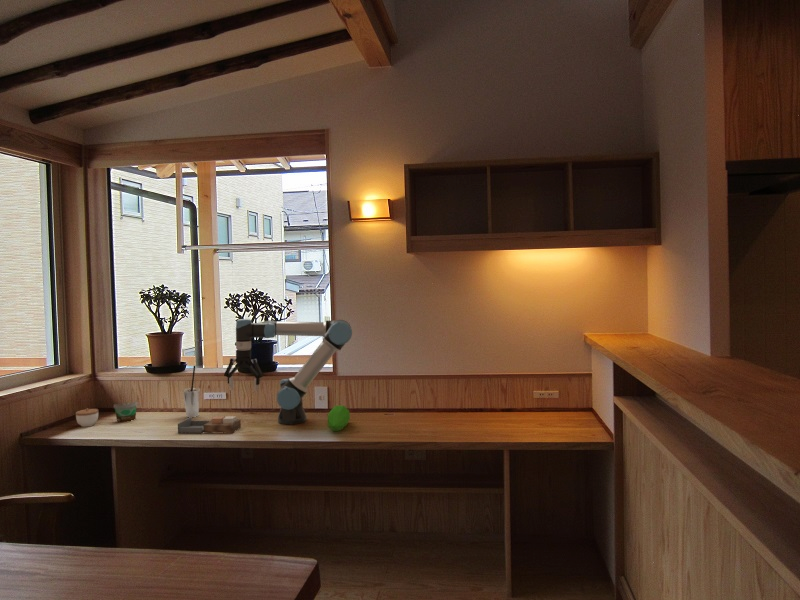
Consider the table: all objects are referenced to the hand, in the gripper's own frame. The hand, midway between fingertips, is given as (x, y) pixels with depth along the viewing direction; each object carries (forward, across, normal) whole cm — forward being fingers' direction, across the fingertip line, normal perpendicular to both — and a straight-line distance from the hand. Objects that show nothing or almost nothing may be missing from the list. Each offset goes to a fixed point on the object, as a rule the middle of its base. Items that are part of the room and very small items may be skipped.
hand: (243, 390), depth 275 cm
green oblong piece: (+19, +48, +5) cm, 52 cm away
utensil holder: (+22, -41, +23) cm, 52 cm away
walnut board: (+21, -11, -1) cm, 23 cm away
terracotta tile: (+17, -13, -1) cm, 21 cm away
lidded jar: (+23, -90, +1) cm, 93 cm away
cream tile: (+17, -7, -1) cm, 18 cm away
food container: (+23, -73, +11) cm, 78 cm away
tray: (+21, -25, -2) cm, 33 cm away
